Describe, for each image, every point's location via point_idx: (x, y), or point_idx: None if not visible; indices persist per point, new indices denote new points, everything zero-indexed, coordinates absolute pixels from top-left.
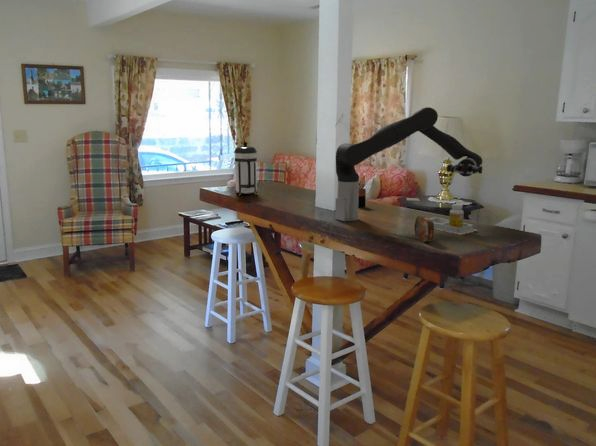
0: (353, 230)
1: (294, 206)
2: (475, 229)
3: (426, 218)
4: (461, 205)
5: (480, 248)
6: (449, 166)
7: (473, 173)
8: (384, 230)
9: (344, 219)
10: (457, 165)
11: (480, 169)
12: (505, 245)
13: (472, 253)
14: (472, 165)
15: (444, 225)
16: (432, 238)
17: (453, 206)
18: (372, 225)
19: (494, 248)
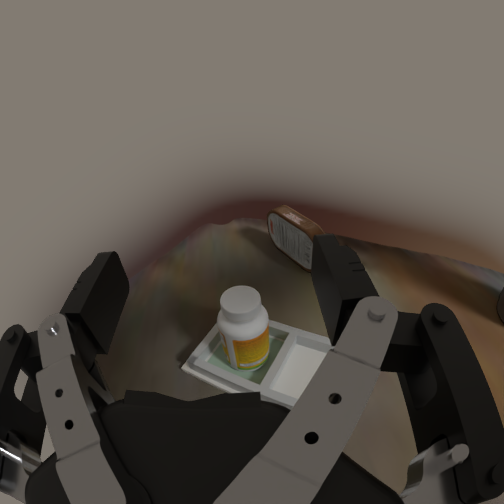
0: (435, 256)
1: None
2: (185, 369)
3: (293, 218)
4: (222, 294)
5: (184, 250)
6: (418, 315)
7: (123, 286)
8: (400, 278)
9: (501, 291)
10: (324, 361)
11: (30, 339)
12: (136, 278)
13: (198, 229)
14: (58, 383)
15: (277, 322)
16: (269, 232)
17: (252, 289)
18: (448, 300)
19: (160, 258)
